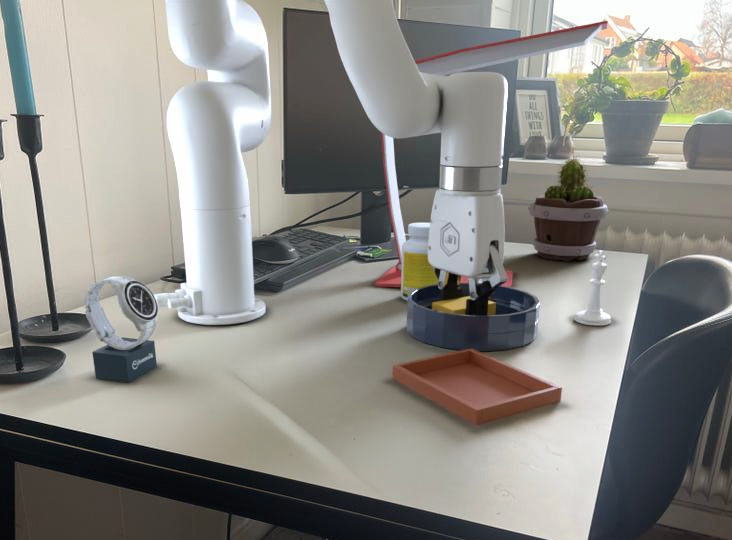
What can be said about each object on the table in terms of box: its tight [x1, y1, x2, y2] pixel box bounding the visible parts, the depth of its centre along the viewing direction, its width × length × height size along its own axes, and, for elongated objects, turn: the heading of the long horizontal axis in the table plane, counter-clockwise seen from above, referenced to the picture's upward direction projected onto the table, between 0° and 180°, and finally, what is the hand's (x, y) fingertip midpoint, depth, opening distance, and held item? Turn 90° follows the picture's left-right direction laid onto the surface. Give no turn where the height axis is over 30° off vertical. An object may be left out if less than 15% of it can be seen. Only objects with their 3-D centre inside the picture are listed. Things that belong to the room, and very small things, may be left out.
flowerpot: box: [527, 153, 610, 262], centre depth 139 cm, size 14×15×20 cm
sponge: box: [432, 296, 496, 316], centre depth 93 cm, size 7×4×4 cm, turn 121°
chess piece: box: [574, 250, 612, 327], centre depth 99 cm, size 5×5×10 cm
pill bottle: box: [400, 222, 439, 302], centre depth 109 cm, size 6×6×12 cm
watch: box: [84, 275, 159, 384], centre depth 79 cm, size 6×8×11 cm
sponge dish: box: [391, 348, 563, 426], centre depth 75 cm, size 11×14×2 cm
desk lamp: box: [348, 20, 609, 288], centre depth 116 cm, size 18×38×40 cm, turn 72°
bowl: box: [406, 282, 541, 352], centre depth 94 cm, size 17×17×5 cm
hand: (462, 321), depth 93 cm, fingers closed on sponge, 4 cm apart
